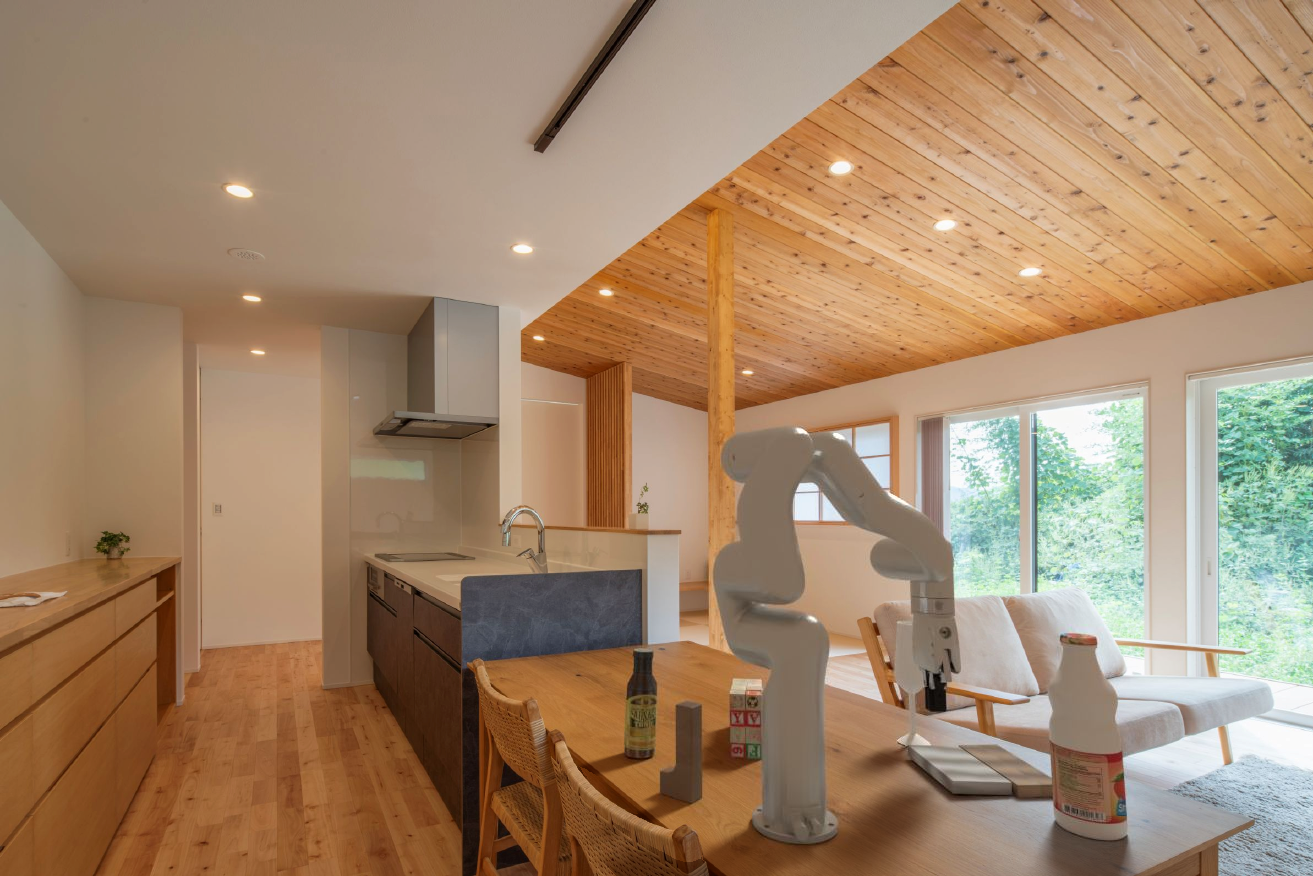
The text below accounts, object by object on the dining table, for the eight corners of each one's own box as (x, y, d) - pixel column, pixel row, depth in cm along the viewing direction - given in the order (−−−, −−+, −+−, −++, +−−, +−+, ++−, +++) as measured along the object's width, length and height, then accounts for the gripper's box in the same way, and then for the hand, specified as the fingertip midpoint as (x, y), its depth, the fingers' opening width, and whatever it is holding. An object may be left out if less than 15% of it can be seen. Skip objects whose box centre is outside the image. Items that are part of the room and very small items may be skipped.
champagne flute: (900, 735, 146) (895, 619, 149) (933, 741, 143) (928, 622, 145) (893, 744, 140) (888, 623, 143) (928, 750, 137) (923, 626, 139)
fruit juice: (1044, 812, 109) (1033, 629, 112) (1109, 816, 107) (1096, 631, 110) (1069, 839, 99) (1057, 640, 102) (1141, 844, 98) (1127, 641, 101)
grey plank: (1011, 795, 115) (1011, 782, 115) (953, 793, 114) (953, 781, 115) (958, 757, 133) (958, 746, 133) (907, 755, 132) (907, 744, 132)
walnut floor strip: (1063, 797, 114) (1062, 784, 115) (1018, 798, 114) (1018, 785, 114) (997, 755, 134) (996, 744, 134) (959, 755, 134) (958, 745, 134)
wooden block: (702, 797, 114) (702, 703, 116) (691, 804, 111) (691, 707, 113) (670, 788, 118) (670, 697, 120) (659, 794, 115) (659, 701, 117)
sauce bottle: (627, 762, 130) (628, 653, 133) (620, 751, 136) (621, 647, 139) (661, 758, 132) (661, 652, 134) (652, 748, 138) (652, 646, 140)
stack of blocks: (735, 725, 153) (734, 668, 155) (763, 726, 152) (762, 669, 154) (729, 759, 133) (729, 692, 134) (762, 760, 132) (761, 694, 133)
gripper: (973, 612, 119) (977, 722, 117) (934, 601, 134) (937, 699, 132) (930, 612, 119) (934, 723, 117) (896, 601, 134) (899, 700, 132)
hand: (936, 710), depth 125 cm, fingers closed
